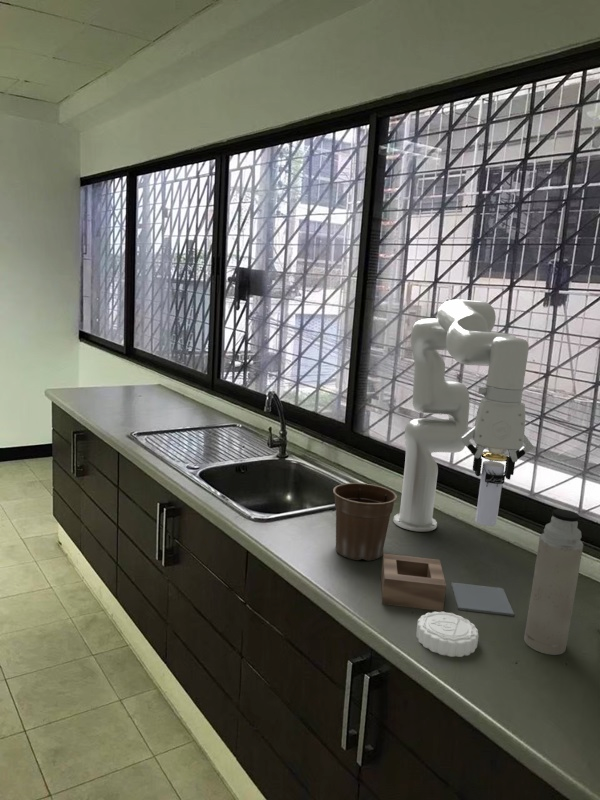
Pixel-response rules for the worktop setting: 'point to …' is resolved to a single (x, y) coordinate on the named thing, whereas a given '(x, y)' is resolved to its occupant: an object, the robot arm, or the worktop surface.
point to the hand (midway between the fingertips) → (492, 475)
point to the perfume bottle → (490, 487)
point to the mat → (481, 599)
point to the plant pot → (362, 519)
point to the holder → (412, 582)
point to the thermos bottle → (554, 584)
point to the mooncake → (447, 634)
